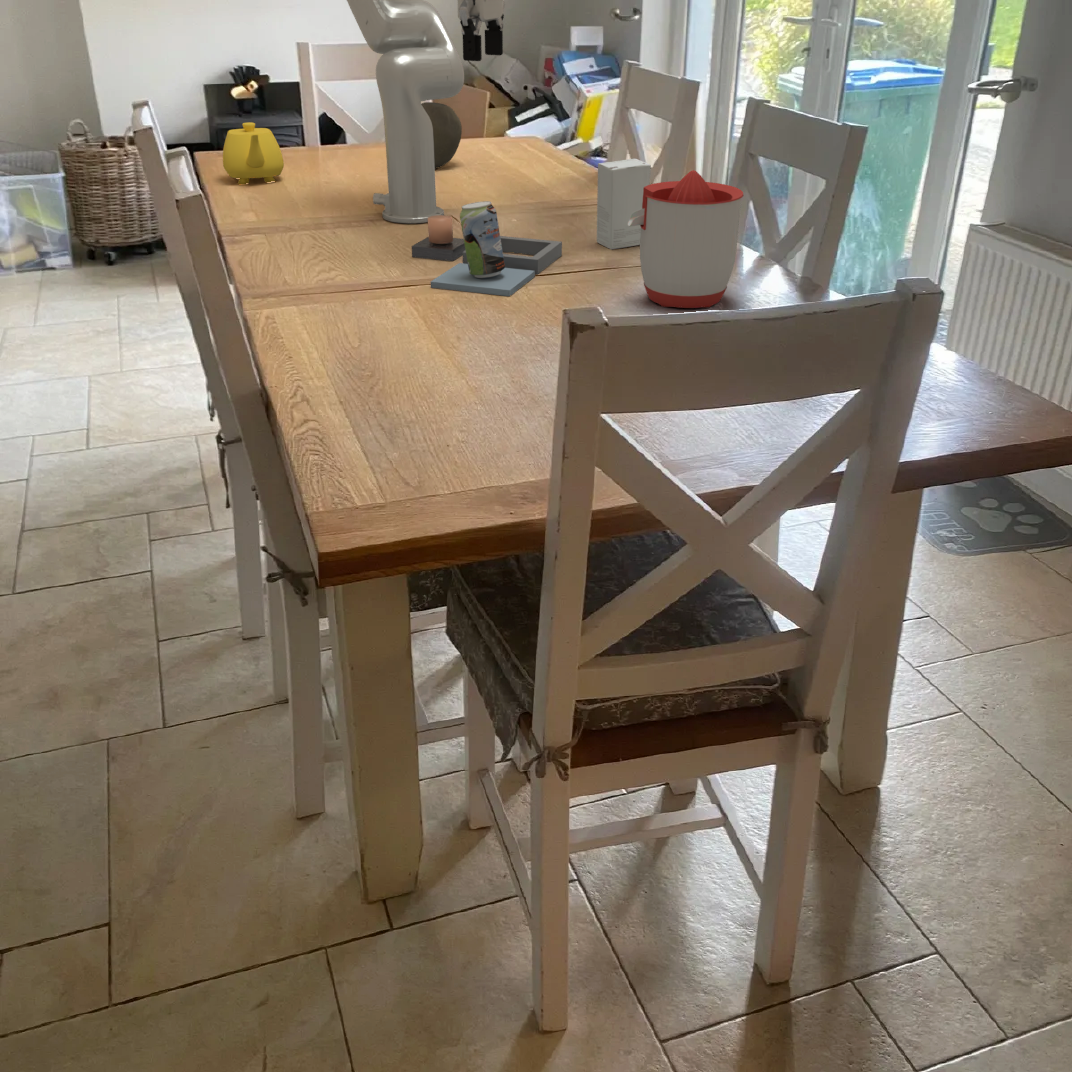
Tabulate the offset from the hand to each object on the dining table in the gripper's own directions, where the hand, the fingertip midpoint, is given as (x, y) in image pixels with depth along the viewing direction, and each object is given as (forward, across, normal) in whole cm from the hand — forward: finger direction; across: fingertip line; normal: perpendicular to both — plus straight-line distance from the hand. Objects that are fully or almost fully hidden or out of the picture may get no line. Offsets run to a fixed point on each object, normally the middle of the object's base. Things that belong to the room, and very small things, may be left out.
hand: (483, 57), depth 186 cm
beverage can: (+31, +24, +9) cm, 40 cm away
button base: (+32, +10, -5) cm, 34 cm away
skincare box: (+32, -8, +24) cm, 41 cm away
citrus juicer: (+32, +22, +42) cm, 57 cm away
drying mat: (+32, +24, +9) cm, 41 cm away
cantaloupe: (+33, -64, -40) cm, 82 cm away
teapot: (+33, -33, -72) cm, 86 cm away
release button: (+30, +10, -5) cm, 32 cm away
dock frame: (+32, +10, +9) cm, 35 cm away
